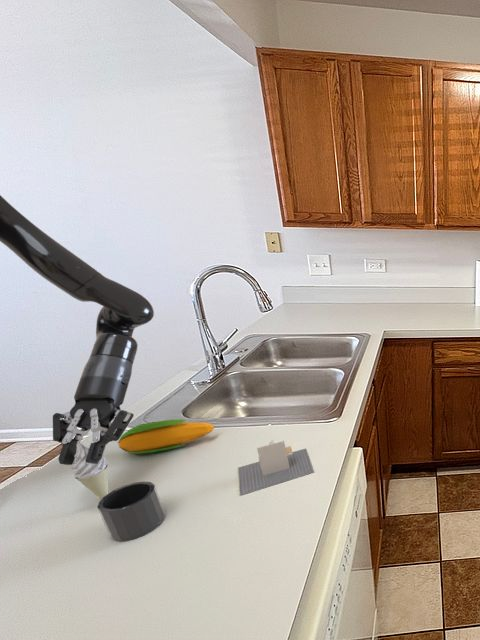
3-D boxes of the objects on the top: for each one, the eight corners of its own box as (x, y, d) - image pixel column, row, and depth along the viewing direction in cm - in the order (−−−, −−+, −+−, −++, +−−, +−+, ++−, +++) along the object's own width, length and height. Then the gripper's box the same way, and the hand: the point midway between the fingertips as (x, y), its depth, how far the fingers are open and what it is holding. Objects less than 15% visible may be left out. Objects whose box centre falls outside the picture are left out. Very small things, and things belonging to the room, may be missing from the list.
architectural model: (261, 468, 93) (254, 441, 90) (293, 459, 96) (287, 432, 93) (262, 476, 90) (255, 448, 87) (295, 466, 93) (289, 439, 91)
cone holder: (100, 545, 72) (86, 515, 69) (126, 513, 79) (114, 485, 77) (152, 536, 74) (140, 507, 71) (172, 506, 81) (162, 478, 79)
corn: (119, 421, 98) (213, 405, 105) (130, 446, 101) (220, 429, 108) (107, 438, 92) (208, 420, 99) (119, 464, 95) (216, 445, 102)
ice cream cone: (127, 498, 83) (98, 438, 77) (96, 514, 79) (63, 452, 73) (117, 491, 86) (88, 432, 80) (87, 506, 82) (54, 444, 76)
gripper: (52, 376, 79) (18, 463, 73) (128, 373, 81) (102, 458, 74) (83, 388, 86) (56, 468, 79) (153, 385, 87) (132, 464, 81)
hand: (78, 463), depth 77 cm, fingers closed on ice cream cone, 4 cm apart
